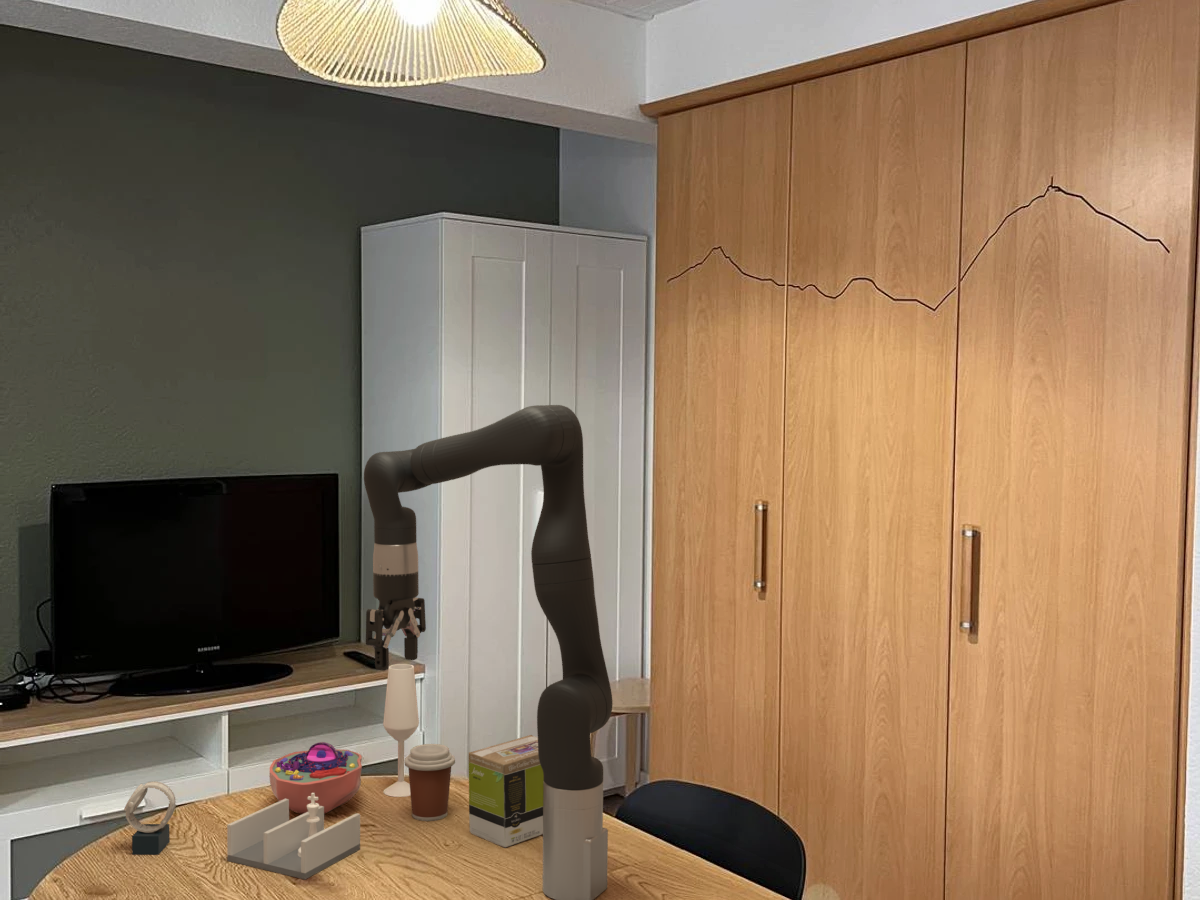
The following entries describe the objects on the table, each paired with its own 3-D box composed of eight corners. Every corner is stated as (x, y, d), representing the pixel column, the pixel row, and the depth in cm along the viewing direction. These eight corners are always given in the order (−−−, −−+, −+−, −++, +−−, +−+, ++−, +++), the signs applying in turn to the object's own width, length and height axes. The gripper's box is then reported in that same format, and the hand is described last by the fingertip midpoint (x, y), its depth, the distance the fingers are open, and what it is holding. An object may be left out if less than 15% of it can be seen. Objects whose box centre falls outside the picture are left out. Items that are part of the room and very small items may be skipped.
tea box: (531, 812, 222) (532, 732, 222) (569, 827, 215) (570, 744, 214) (466, 833, 212) (467, 749, 211) (504, 849, 205) (504, 763, 204)
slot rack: (360, 849, 204) (360, 814, 204) (305, 879, 191) (304, 842, 191) (285, 832, 211) (285, 798, 211) (227, 860, 199) (227, 824, 198)
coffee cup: (398, 809, 223) (399, 744, 222) (447, 803, 227) (447, 739, 226) (411, 826, 215) (411, 759, 214) (461, 819, 218) (461, 753, 217)
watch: (132, 842, 206) (131, 778, 205) (180, 842, 206) (179, 778, 206) (120, 855, 200) (119, 789, 200) (169, 855, 201) (168, 789, 200)
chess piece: (320, 860, 197) (320, 799, 196) (292, 857, 198) (292, 797, 197) (333, 848, 201) (333, 789, 201) (305, 846, 202) (305, 787, 202)
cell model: (248, 824, 215) (248, 761, 214) (296, 787, 234) (296, 729, 234) (339, 831, 212) (339, 767, 211) (380, 793, 231) (380, 735, 231)
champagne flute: (402, 799, 228) (402, 672, 227) (375, 792, 232) (375, 667, 231) (426, 789, 234) (426, 665, 233) (399, 782, 238) (399, 661, 236)
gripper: (389, 576, 197) (391, 675, 198) (437, 565, 210) (438, 658, 211) (351, 573, 201) (353, 671, 201) (401, 562, 214) (402, 654, 214)
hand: (396, 664), depth 206 cm, fingers open, 8 cm apart
